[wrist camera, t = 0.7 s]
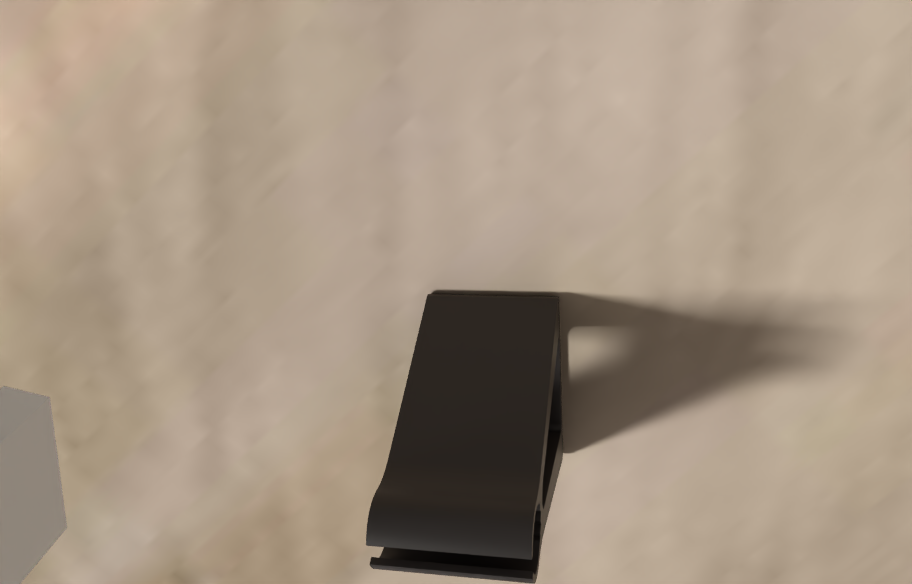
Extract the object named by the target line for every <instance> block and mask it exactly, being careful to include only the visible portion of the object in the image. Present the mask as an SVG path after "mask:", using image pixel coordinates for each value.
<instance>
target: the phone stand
mask: <svg viewBox="0 0 912 584" xmlns="http://www.w3.org/2000/svg"><path fill="white" fill-rule="evenodd" d="M562 457H563V438H562V398H561V359H560V319H559V297H542V296H493V295H445V294H428V296H427V299H426V304H425V308H424V312H423V316H422V320H421V324H420V329H419V333H418V337H417V341H416V345H415V350H414V354H413V358H412V362H411V366H410V370H409V375H408V379H407V383H406V387H405V391H404V396H403V400H402V404H401V408H400V412H399V416H398V421H397V425H396V429H395V433H394V437H393V441H392V446H391V450H390V454H389V458H388V462H387V466H386V469H385V473H384V475H383V478H382V481H381V483H380V485H379V487H378V489H377V491H376V493H375V495H374V497H373V500H372V503H371V507H370V511H369V517H368V523H367V535H366V545H367V546H378V547H384V549H383V551H382V554H381V556H380V558H376V557H371V561H370V566H371V567H372V568H373V569H382V570H393V571H403V572H414V573H425V574H436V575H447V576H458V577H469V578H480V579H490V580H501V581H512V582H523V583H535V582H536V579H537V574H538V567H539V558H540V550H541V544H542V538H543V533H544V529H545V525H546V521H547V517H548V513H549V510H550V506H551V502H552V498H553V494H554V490H555V486H556V482H557V478H558V474H559V470H560V466H561V463H562Z"/></svg>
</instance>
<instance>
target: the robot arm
mask: <svg viewBox="0 0 912 584" xmlns="http://www.w3.org/2000/svg"><path fill="white" fill-rule="evenodd" d="M66 528H67V523H66V516H65V508H64V500H63V493H62V485H61V478H60V470H59V462H58V455H57V447H56V440H55V432H54V424H53V417H52V409H51V402H50V397H48V396H44V395H39V394H35V393H31V392H27V391H23V390H19V389H14V388H10V387H6V386H3V387H2V388H1V389H0V584H20V583H21V582H22V581H23V580H24V579H25V577H26V576H27V575H28V574H29V573H30V571H31V570H32V569H33V568H34V567H35V565H36V564H37V563H38V562H39V561H40V559H41V558H42V557H43V556H44V555H45V553H46V552H47V551H48V550H49V549H50V548H51V546H52V545H53V544H54V543H55V542H56V540H57V539H58V538H59V537H60V536H61V534H62V533H63V532H64V531H65V530H66Z"/></svg>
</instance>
